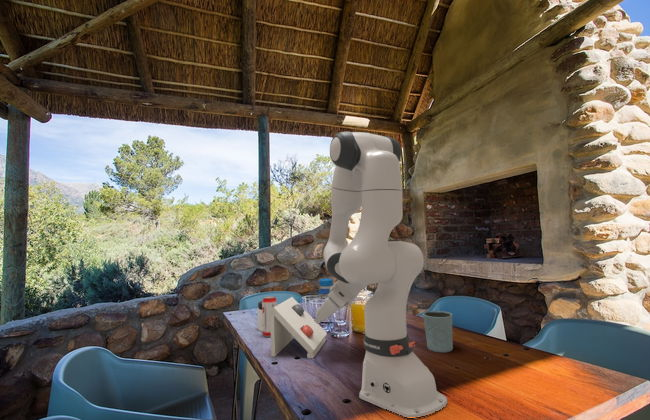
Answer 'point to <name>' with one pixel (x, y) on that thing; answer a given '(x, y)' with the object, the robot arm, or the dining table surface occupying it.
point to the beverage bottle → (325, 287)
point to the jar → (260, 316)
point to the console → (294, 329)
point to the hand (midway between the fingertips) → (316, 321)
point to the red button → (307, 331)
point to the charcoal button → (298, 309)
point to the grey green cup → (438, 330)
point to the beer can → (267, 313)
